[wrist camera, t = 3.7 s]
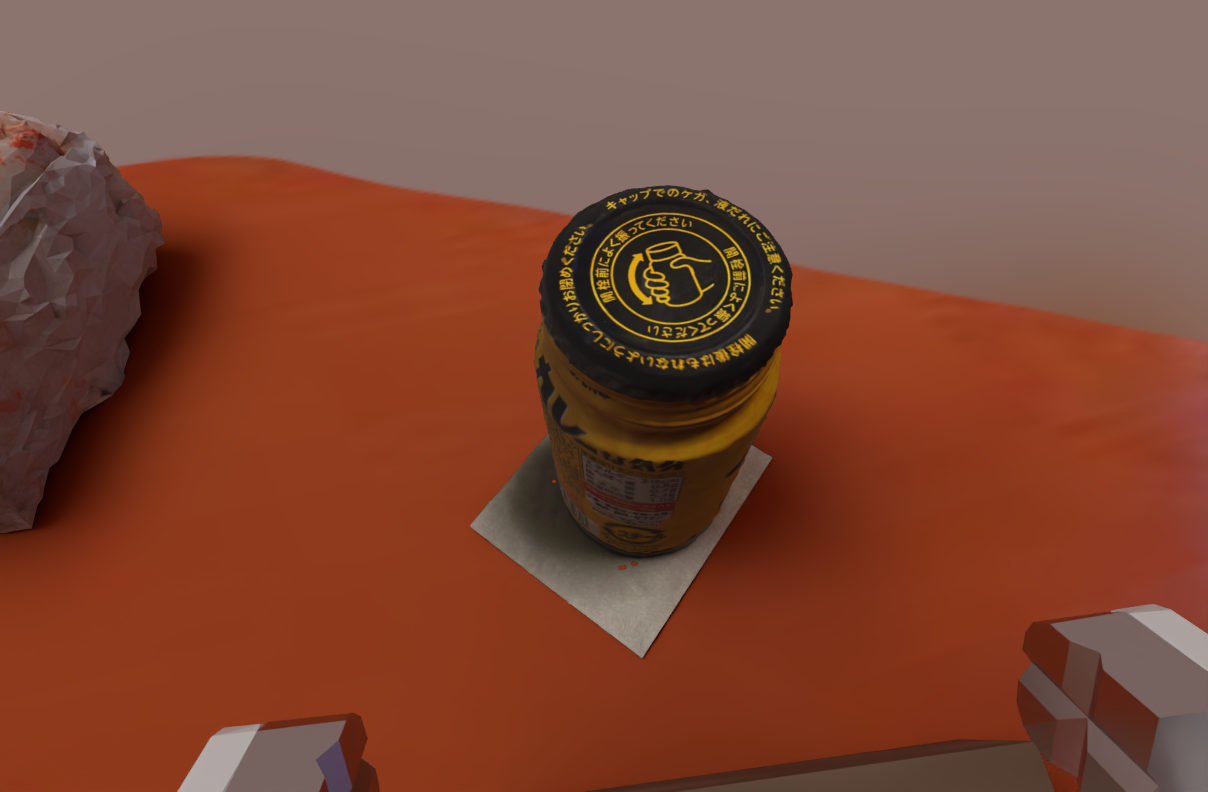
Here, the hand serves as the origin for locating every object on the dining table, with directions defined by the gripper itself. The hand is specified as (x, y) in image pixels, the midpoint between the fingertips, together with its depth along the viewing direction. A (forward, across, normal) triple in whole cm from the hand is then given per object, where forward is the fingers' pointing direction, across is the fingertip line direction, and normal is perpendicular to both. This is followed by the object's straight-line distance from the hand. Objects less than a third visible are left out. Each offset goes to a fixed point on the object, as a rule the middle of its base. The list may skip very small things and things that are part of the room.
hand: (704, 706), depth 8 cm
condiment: (+15, 0, +5) cm, 16 cm away
